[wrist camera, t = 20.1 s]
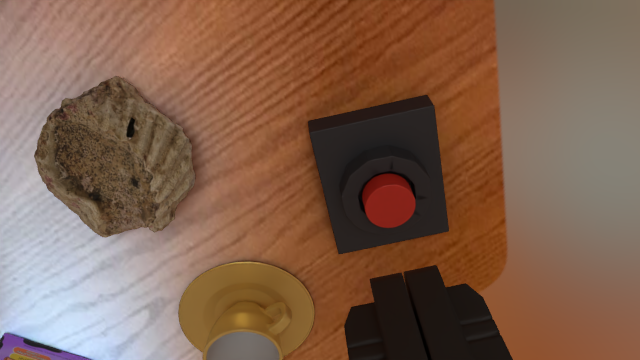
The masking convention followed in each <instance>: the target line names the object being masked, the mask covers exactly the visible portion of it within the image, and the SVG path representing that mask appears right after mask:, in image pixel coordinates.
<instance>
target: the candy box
mask: <svg viewBox="0 0 640 360" xmlns="http://www.w3.org/2000/svg"><path fill="white" fill-rule="evenodd" d="M0 360H89V359H87V358H84V357H80V356H77V355H74V354H70V353H67V352H64V351H61V350H58V349H55V348H52V347H49V346H45V345H42V344H39V343H35V342H33V341H30V340H27V339H24V338H20V337H17V336H14V335H11V334H8V333H4V335H3V336H2V338H1V339H0Z"/></svg>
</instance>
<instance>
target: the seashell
mask: <svg viewBox="0 0 640 360" xmlns="http://www.w3.org/2000/svg"><path fill="white" fill-rule="evenodd" d="M191 151H192V146H191V142H190V139H189V138H188V137H187V136H186V135H185V134H184V132H183V128H182V127H181V126H179V125H178V124H176V123H175V122H173V121H171V120H170V119H168V118H167V117H166V116H165V115H163V114H161V113H160V112H159V111H158V110H157V109H156V108H155V107H153V106H152V105H151V104H150V103H149V104H147V103H145V102H144V100H143V98H142V97H140V95H139V94H138V92H137V90H136V89H135V88H134V87H133V86H132V85H130V84H129V83H127V82H126V81H125V80H124V79H123V78H121V77H119V76H115V77H113V78H111V79H109V80H107V81H104V82H101V83H100V84H99V86H97V87H93V88H92V89H90V90H88V91H85V92H83V94H82V95H81V96H79V97H77V98H74V99H67V98H65V99H64V100H63V101H62V104H61V108H60V109H55V110H54V111H53V112H52V113H51V114H50V115H49V116H48V117H47V123H46V124H45V125H44V126H43V128H42V131H41V134H40V137H39V140H38V144H37V150H36V152H35V155H34V157H35V160H36V163H37V166H38V172H39V174H40V176H41V178H42V181H43V182H44V183H45V184H46V186H47V188H48V190H49V191H50V192H52V193H53V194H54V196H55V197H57V198H58V199H59V200H61V201H62V202H63V203H64V204H65V205H66V206H68V208H69V209H70V210H72V211H73V212H74V213H76V214H77V215H79V217H80V219H81V220H82V221H83V222H84V223H85V224H86V225H87V226H89V227H90V228H91V229H92V230H93V231H94V232H95V233H97V234H98V235H100V236H102V237H108V236H111V235H113V234H119V233H122V232H124V231H127V230H131V229H137V228H140V227H144V228H146V227H149V229H150V230H152V231H153V232H157V231H159V230H160V231H162V230H163V229H164V228H165V227H166V226H167V225H168V224H169V223H170V222H171V221H172V220H174V219H175V211H176V208H177V205H178V204H179V203H180V202H181V201H182V200H183V199H184V198H185V197H186V196H187V194H188V192H189V191H190V190H191V189H192V188H193V186H194V183H195V176H196V175H195V172H194V171H193V164H192V160H191Z"/></svg>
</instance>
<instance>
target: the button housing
mask: <svg viewBox="0 0 640 360" xmlns="http://www.w3.org/2000/svg"><path fill="white" fill-rule="evenodd" d="M308 126H309V134H310V138H311V142H312V146H313V150H314V155H315V159H316V163H317V167H318V171H319V175H320V179H321V183H322V187H323V192H324V196H325V200H326V204H327V208H328V212H329V216H330V220H331V225H332V229H333V233H334V237H335V241H336V245H337V249H338V253H339V254H343V253H348V252H353V251H357V250H362V249H367V248H372V247H376V246H381V245H386V244H391V243H395V242H400V241H405V240H410V239H414V238H419V237H424V236H429V235H433V234H438V233H443V232H448V231H449V227H448V218H447V210H446V202H445V193H444V185H443V176H442V168H441V159H440V151H439V142H438V134H437V126H436V117H435V109H434V105H433V103H432V102H431V100H430V99H429V97H428V96H427V95H424V96H419V97H415V98H410V99H406V100H401V101H397V102H392V103H388V104H383V105H379V106H374V107H370V108H365V109H361V110H356V111H352V112H347V113H342V114H338V115H333V116H329V117H324V118H320V119H315V120H311V121H308ZM386 173H392V174H396V175H399V176H401V177H403V178H404V179H405V180H406V181H407V182H408V183H409V185H410V188H411V190H412V193H413V195H414V197H415V201H416V206H415V210H414V213H413V215H412V216H411V217H410V219H409V220H408V221H406V222H405V223H403V224H402V225H400V226H397V227H392V228H384V227H380V226H377V225H375V224H373V223H372V222H371V221H370V220H369V219H368V217H367V215H366V212H365V208H364V204H363V201H362V193H363V190H364V187H365V186H366V184H367V183H368V182H369V181H370V180H371V179H372V178H374V177H376V176H378V175H381V174H386Z"/></svg>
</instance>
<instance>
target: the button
mask: <svg viewBox="0 0 640 360" xmlns="http://www.w3.org/2000/svg"><path fill="white" fill-rule="evenodd" d="M362 201H363V204H364V208H365V212H366V215H367V217H368V219H369V220H370V221H371V222H372V223H373V224H375V225H377V226H380V227H384V228H392V227H397V226H400V225H402V224H403V223H405V222H406V221H408V220H409V219H410V217H411V216H412V215H413V213H414V210H415V206H416V201H415V197H414V195H413V193H412V190H411V188H410V185H409V183H408V182H407V181H406V180H405V179H404V178H403V177H401V176H399V175H396V174H392V173H386V174H381V175H378V176H376V177H374V178H372V179H371V180H370V181H369V182H368V183H367V184H366V186H365V187H364V190H363V193H362Z"/></svg>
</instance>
